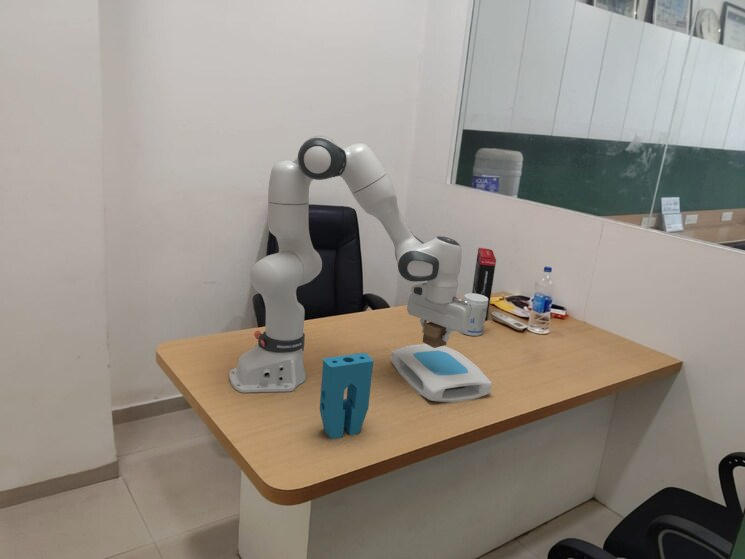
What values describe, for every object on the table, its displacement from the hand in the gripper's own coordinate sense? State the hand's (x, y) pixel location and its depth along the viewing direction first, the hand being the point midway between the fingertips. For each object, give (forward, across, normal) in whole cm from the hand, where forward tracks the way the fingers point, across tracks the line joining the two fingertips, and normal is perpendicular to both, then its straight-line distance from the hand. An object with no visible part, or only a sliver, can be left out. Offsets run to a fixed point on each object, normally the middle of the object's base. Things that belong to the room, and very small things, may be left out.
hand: (435, 336), depth 161 cm
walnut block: (+2, 0, 0) cm, 2 cm away
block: (+17, +2, +37) cm, 41 cm away
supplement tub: (+17, +15, -52) cm, 56 cm away
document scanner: (+17, +1, -7) cm, 19 cm away
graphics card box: (+17, +24, -74) cm, 80 cm away
